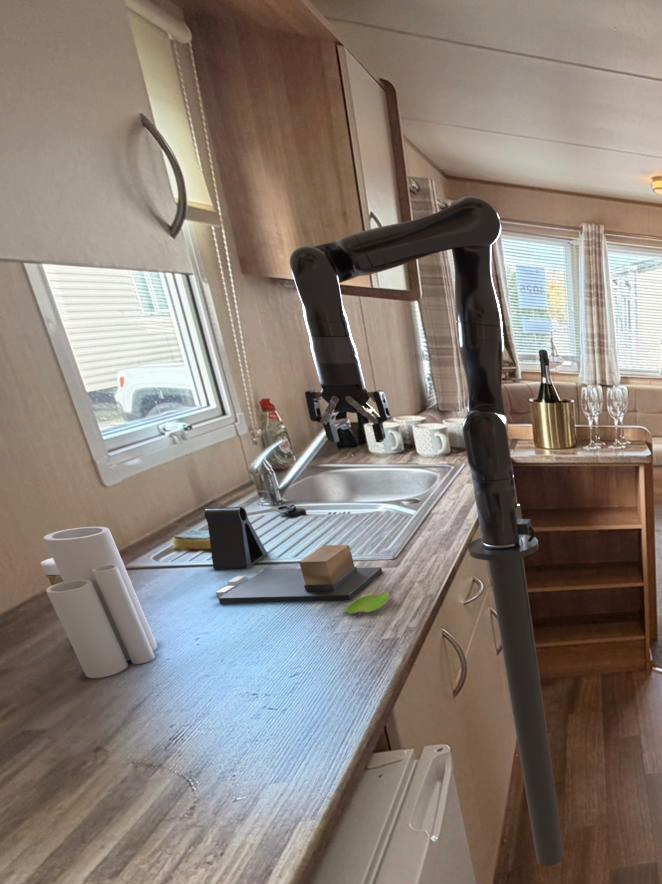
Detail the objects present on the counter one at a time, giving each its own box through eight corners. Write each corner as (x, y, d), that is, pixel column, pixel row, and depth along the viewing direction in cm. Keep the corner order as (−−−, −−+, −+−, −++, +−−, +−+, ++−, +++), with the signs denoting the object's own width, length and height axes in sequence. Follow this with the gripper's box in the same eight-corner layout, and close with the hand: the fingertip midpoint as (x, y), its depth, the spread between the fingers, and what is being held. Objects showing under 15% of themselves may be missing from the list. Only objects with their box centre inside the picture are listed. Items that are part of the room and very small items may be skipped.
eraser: (357, 571, 133) (350, 544, 130) (334, 590, 124) (326, 561, 121) (331, 572, 132) (323, 544, 129) (305, 591, 123) (297, 562, 120)
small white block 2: (237, 575, 129) (238, 580, 129) (227, 581, 126) (228, 586, 126) (245, 575, 129) (247, 580, 129) (235, 581, 126) (237, 586, 126)
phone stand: (247, 568, 135) (229, 513, 130) (213, 569, 133) (194, 514, 128) (267, 554, 143) (251, 502, 138) (236, 555, 141) (218, 502, 136)
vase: (106, 648, 102) (52, 529, 94) (165, 639, 106) (119, 524, 98) (80, 681, 94) (19, 553, 86) (146, 669, 97) (94, 546, 89)
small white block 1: (226, 585, 124) (227, 590, 124) (215, 592, 121) (217, 597, 122) (234, 585, 124) (236, 590, 125) (224, 592, 121) (225, 596, 122)
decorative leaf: (336, 611, 119) (334, 606, 119) (382, 593, 126) (381, 589, 126) (360, 618, 116) (359, 613, 115) (406, 599, 123) (405, 595, 122)
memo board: (382, 572, 136) (381, 567, 136) (350, 600, 123) (348, 595, 122) (266, 574, 132) (265, 569, 132) (220, 603, 119) (218, 598, 118)
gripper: (383, 359, 132) (401, 438, 139) (306, 358, 129) (328, 439, 136) (368, 362, 125) (387, 445, 132) (286, 361, 123) (311, 445, 129)
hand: (357, 442), depth 134 cm, fingers open, 8 cm apart
